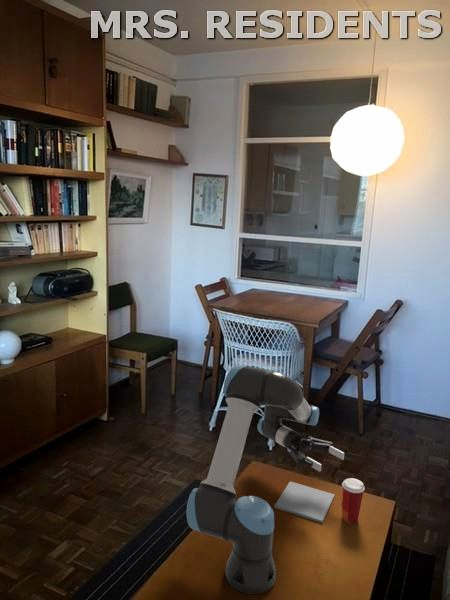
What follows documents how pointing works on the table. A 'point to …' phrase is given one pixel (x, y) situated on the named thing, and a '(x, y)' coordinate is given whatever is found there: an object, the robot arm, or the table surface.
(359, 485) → the paper cup
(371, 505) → the table surface
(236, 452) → the robot arm
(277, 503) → the slate board
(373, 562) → the table surface
